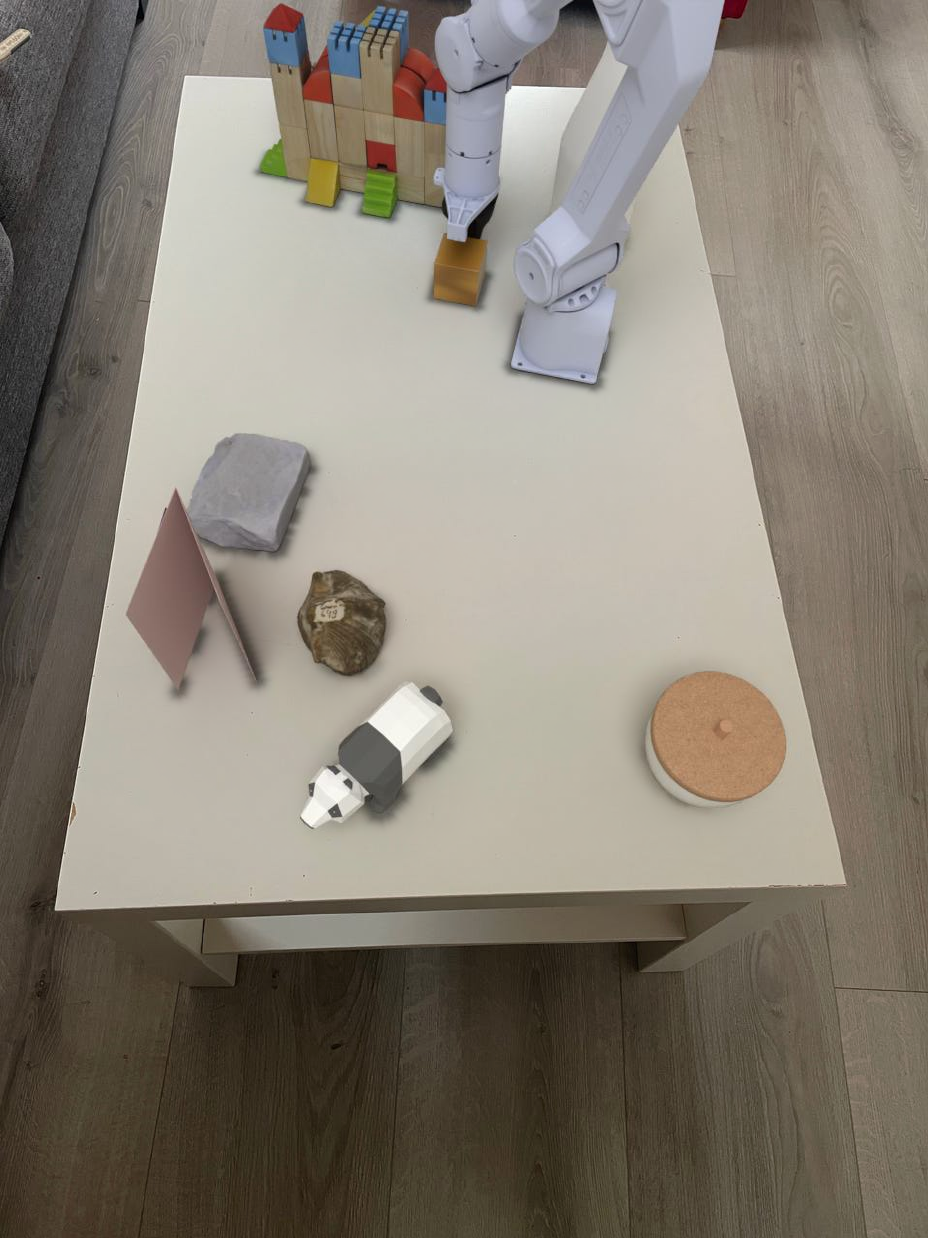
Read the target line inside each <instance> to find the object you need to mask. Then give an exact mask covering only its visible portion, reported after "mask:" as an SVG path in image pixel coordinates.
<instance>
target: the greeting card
mask: <svg viewBox="0 0 928 1238" xmlns="http://www.w3.org/2000/svg"><path fill="white" fill-rule="evenodd" d="M187 511H188V510H187V508H186V506H185V504H184V501H183V499H182V497H181V495H180V493H179V490H178V488H177V487H176V486H175V487H174V489H173V493H172V495H171V497H170V500H169V502H168V504H167V506H166V507H164V510H163V513H162V516H161V520H160V523H159V525H158V529H157V531H156V535H155V538H154V541H153V543H152V546H151V547H150V551H149V552H148V555H147V558H146V561H145V563H144V566H143V568H142V570H141V573H140V576H139V578H138V580H137V583H136V585H135V587H134V588H135V589H134V591H133V593H132V596H131V599H130V601H129V602H128V605H127V609H126V611H125V613H124V615H125V616H126V618H127V619H128V620H129V622H130V623H131V625H132V626H133V627H134V629H135V630H136V631H137V634H138V635H139V636H140V638H141V639H142V641H143V642H144V644H145V645H146V646H147V648H148V649H149V651H150V652H151V654H152V655H153V657H155V659H156V661H157V662H158V664H159V665H160V666H161V668H162V669H163V670H164V672H165V674H166V675H167V677H168V678H169V679H170V681H171V682H172V683H173V685H174V686H175V688H176V689H177V690H178V691H179V689H180V687H181V685H182V681H183V678H184V677H185V676H184V675H185V674H186V673H185V672H186V669H187V667H188V664H189V661H190V659H191V656H192V652H193V650H194V646H195V643H196V641H197V638H198V635H199V632H200V630H201V627H202V624H203V621H204V618H205V615H206V612H207V610H208V606H209V603H210V601H211V598H212V595H213V592H214V591H215V594H216V596H217V599H218V601H219V604H220V607H221V608H222V610H223V613H224V615H225V617H226V619H227V621H228V623H229V625H230V628H231V631H232V632H233V635H234V636H235V638H236V641H237V643H238V645H239V647H240V649H241V652H242V654H243V656H244V658H245V661H247V664H248V667H249V669H250V671H251V673H252V675H253V677H254V679H255V682H256V683H257V682H258V681H257V678H256V676H255V673H254V671H253V668H252V665H251V662H250V660H249V657H248V654H247V652H246V650H245V648H244V647H245V646H244V645H243V643H242V640H241V637H240V634H239V632H238V629H237V626H236V624H235V621H234V619H233V616H232V614H231V611H230V609H229V606H228V604H227V601H226V599H225V595H224V594H223V591H222V589H221V585H220V583H219V581H218V578H217V576H216V573H215V572H214V569H213V567H212V565H211V562H210V560H209V558H208V555H207V554H206V550H205V549H204V546H203V544H202V543H201V540H200V538H199V535H198V533H197V532H196V531H195V529H194V526H193V524H192V522H191V520H190V517H189V515H188V513H187Z"/></svg>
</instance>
